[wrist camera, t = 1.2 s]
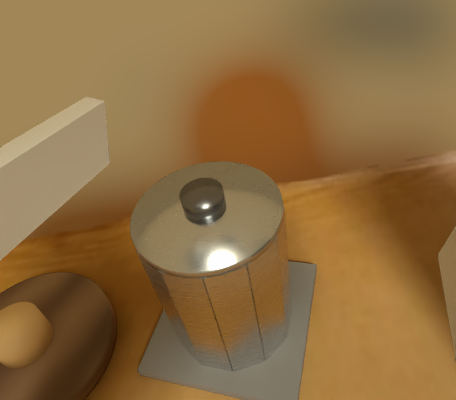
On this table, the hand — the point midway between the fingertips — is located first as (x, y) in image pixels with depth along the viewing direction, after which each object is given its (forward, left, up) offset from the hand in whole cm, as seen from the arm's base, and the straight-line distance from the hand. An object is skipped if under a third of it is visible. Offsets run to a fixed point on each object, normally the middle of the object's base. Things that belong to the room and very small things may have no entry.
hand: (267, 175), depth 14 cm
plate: (+21, +1, -20) cm, 29 cm away
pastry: (+21, +1, -18) cm, 28 cm away
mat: (+5, -5, -20) cm, 21 cm away
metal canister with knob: (+5, -5, -19) cm, 21 cm away
